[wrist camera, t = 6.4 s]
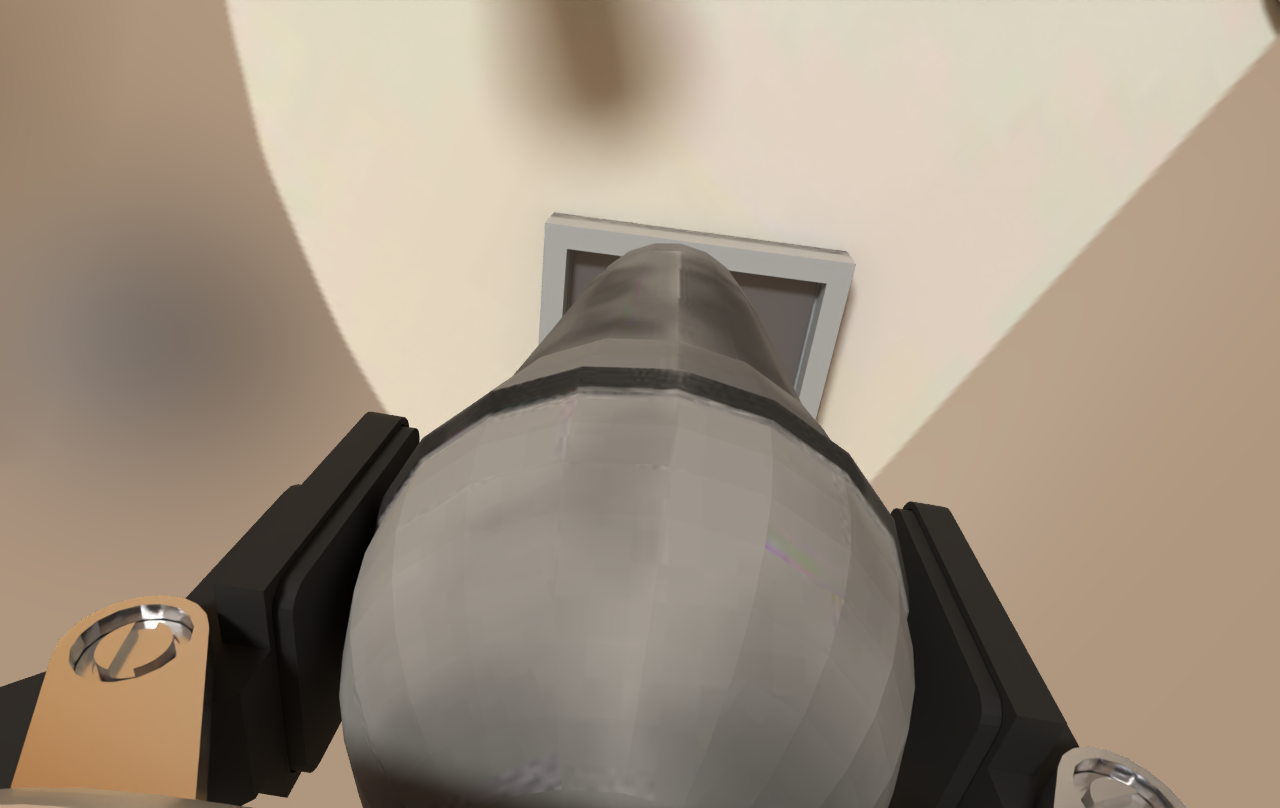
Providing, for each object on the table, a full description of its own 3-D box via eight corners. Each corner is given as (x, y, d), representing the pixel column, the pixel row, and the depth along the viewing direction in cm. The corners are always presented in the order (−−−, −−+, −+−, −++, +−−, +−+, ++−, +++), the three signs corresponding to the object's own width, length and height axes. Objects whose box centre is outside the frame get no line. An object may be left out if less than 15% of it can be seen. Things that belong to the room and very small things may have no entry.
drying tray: (846, 251, 39) (855, 264, 36) (782, 508, 46) (786, 532, 44) (554, 212, 39) (545, 222, 37) (538, 475, 46) (530, 496, 44)
